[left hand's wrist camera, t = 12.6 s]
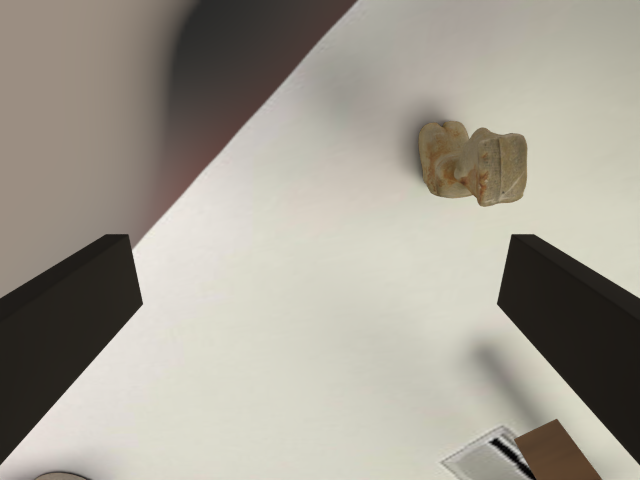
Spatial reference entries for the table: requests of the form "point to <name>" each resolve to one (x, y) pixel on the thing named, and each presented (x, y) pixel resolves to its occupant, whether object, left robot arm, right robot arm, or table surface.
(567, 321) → the left robot arm
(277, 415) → the table surface
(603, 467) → the table surface
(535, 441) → the bar
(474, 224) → the table surface
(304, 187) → the table surface
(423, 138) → the sculpture
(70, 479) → the bust sculpture
